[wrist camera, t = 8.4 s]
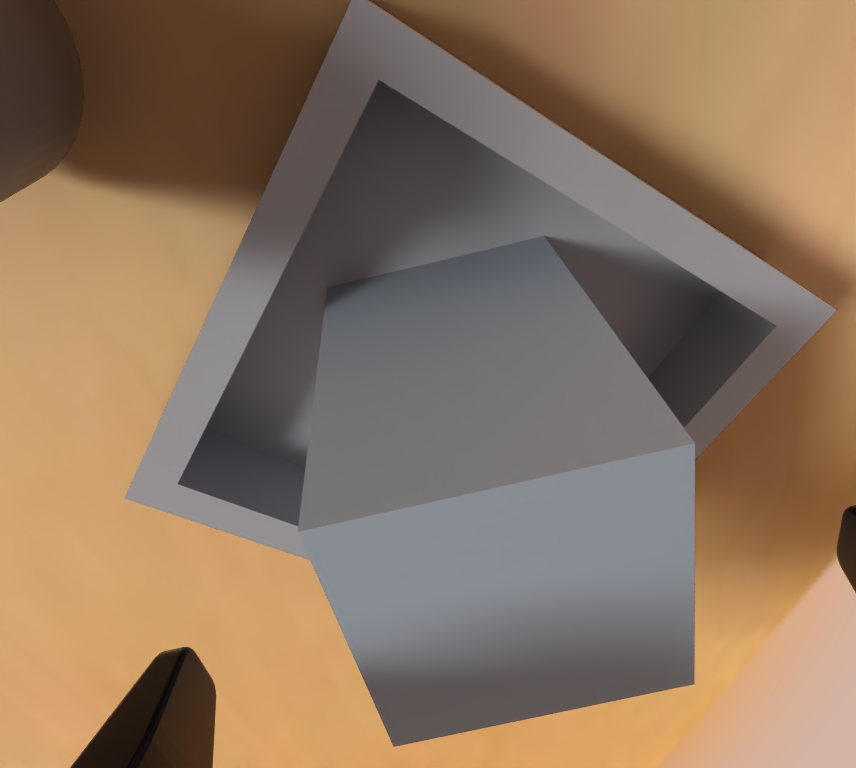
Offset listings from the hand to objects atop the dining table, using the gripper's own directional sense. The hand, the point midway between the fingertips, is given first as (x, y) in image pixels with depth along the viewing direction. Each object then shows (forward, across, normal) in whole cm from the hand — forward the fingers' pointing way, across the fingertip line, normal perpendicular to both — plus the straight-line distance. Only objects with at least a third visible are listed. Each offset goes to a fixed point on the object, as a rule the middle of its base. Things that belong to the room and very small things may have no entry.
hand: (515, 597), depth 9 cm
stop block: (+6, 0, 0) cm, 7 cm away
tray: (+7, 0, 0) cm, 7 cm away
